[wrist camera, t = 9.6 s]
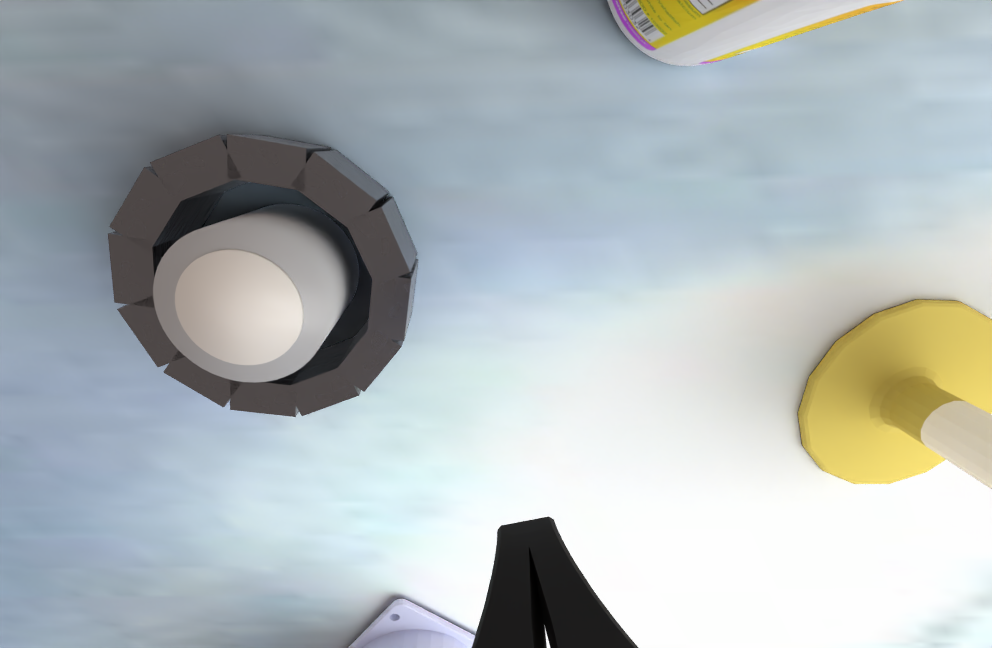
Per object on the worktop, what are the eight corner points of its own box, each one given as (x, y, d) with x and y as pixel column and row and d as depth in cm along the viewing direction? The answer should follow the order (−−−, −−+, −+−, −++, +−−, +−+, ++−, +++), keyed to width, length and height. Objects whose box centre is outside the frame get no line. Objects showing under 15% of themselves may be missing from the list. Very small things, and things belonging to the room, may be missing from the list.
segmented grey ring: (329, 416, 22) (309, 457, 19) (118, 286, 19) (59, 311, 16) (464, 251, 19) (464, 270, 17) (247, 78, 17) (204, 65, 14)
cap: (316, 348, 20) (272, 413, 16) (205, 278, 19) (118, 325, 14) (383, 256, 19) (358, 295, 14) (270, 175, 18) (199, 188, 13)
